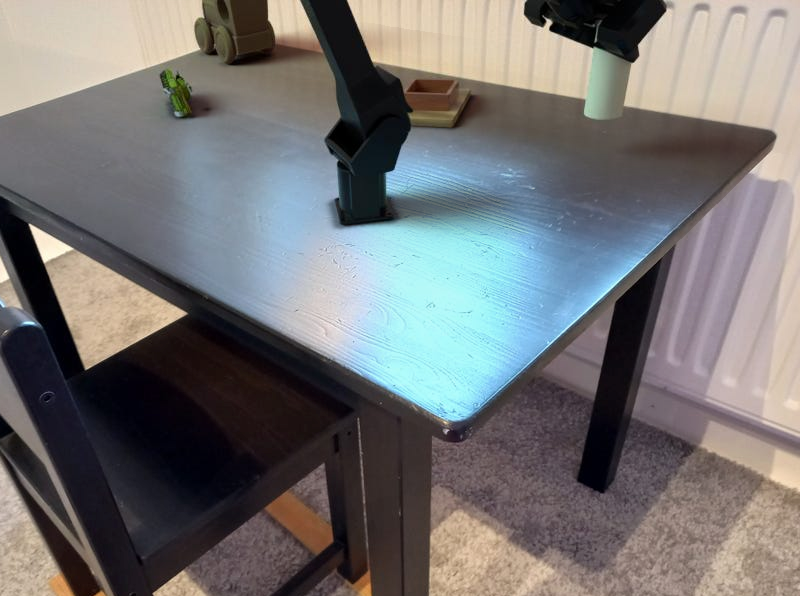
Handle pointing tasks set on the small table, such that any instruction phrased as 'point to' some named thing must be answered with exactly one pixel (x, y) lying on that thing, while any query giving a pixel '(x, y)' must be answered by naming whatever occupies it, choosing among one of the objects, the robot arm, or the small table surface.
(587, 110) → the post
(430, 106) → the base pad
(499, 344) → the small table surface
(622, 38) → the robot arm
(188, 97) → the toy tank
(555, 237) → the small table surface
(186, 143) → the small table surface
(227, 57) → the wooden toy train
